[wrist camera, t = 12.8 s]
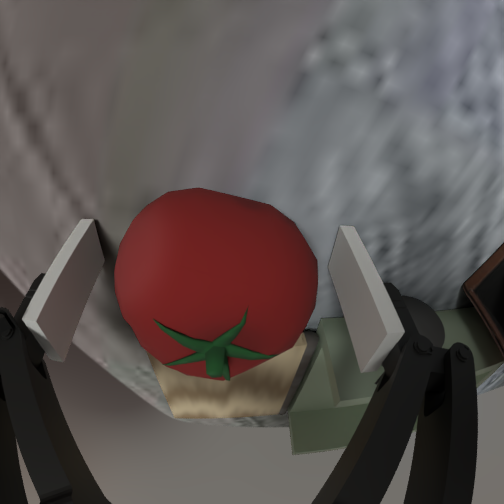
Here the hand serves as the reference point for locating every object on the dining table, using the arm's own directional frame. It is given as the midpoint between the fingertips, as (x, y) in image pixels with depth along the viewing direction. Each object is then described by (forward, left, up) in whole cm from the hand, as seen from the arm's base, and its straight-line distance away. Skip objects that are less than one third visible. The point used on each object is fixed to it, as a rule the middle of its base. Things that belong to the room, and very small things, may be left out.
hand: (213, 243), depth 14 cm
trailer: (+13, +14, 0) cm, 19 cm away
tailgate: (+13, +6, +1) cm, 14 cm away
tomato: (0, 0, 0) cm, 0 cm away
